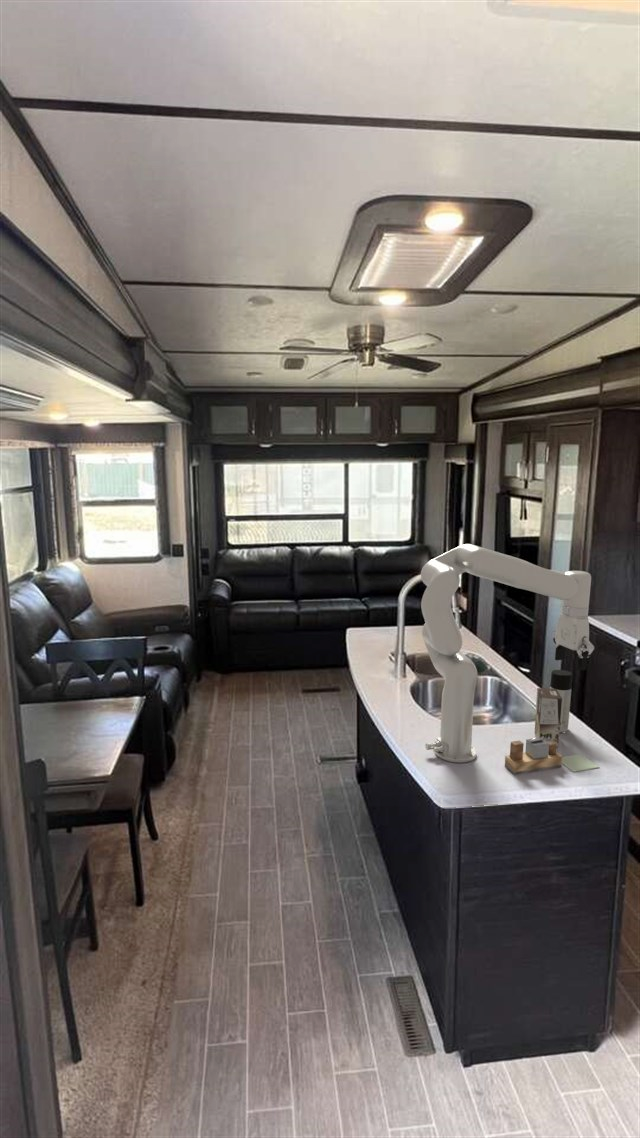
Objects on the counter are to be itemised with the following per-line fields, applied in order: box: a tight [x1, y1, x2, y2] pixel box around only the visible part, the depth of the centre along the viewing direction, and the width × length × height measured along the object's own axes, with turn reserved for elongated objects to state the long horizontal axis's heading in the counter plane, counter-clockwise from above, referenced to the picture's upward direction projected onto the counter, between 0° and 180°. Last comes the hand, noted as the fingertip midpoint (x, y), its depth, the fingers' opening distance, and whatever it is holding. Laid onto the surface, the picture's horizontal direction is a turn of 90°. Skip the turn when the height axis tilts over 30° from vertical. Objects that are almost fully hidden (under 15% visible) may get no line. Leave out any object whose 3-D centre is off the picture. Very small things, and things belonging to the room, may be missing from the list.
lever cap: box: [524, 737, 549, 760], centre depth 179 cm, size 5×4×6 cm
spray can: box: [549, 669, 573, 734], centre depth 203 cm, size 7×7×20 cm
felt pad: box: [562, 754, 600, 773], centre depth 182 cm, size 9×8×1 cm
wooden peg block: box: [504, 740, 563, 776], centre depth 179 cm, size 16×5×8 cm, turn 107°
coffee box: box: [534, 687, 562, 747], centre depth 196 cm, size 9×6×16 cm
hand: (570, 664), depth 189 cm, fingers open, 9 cm apart
